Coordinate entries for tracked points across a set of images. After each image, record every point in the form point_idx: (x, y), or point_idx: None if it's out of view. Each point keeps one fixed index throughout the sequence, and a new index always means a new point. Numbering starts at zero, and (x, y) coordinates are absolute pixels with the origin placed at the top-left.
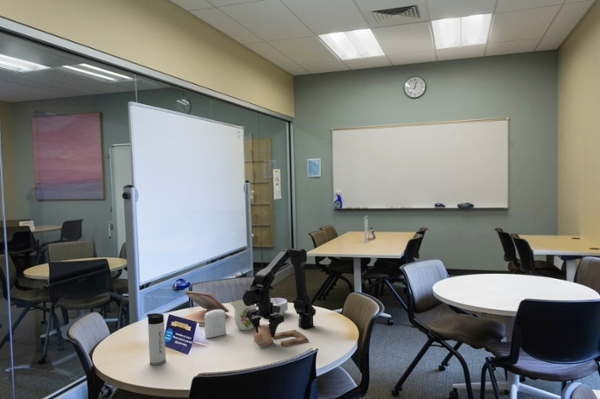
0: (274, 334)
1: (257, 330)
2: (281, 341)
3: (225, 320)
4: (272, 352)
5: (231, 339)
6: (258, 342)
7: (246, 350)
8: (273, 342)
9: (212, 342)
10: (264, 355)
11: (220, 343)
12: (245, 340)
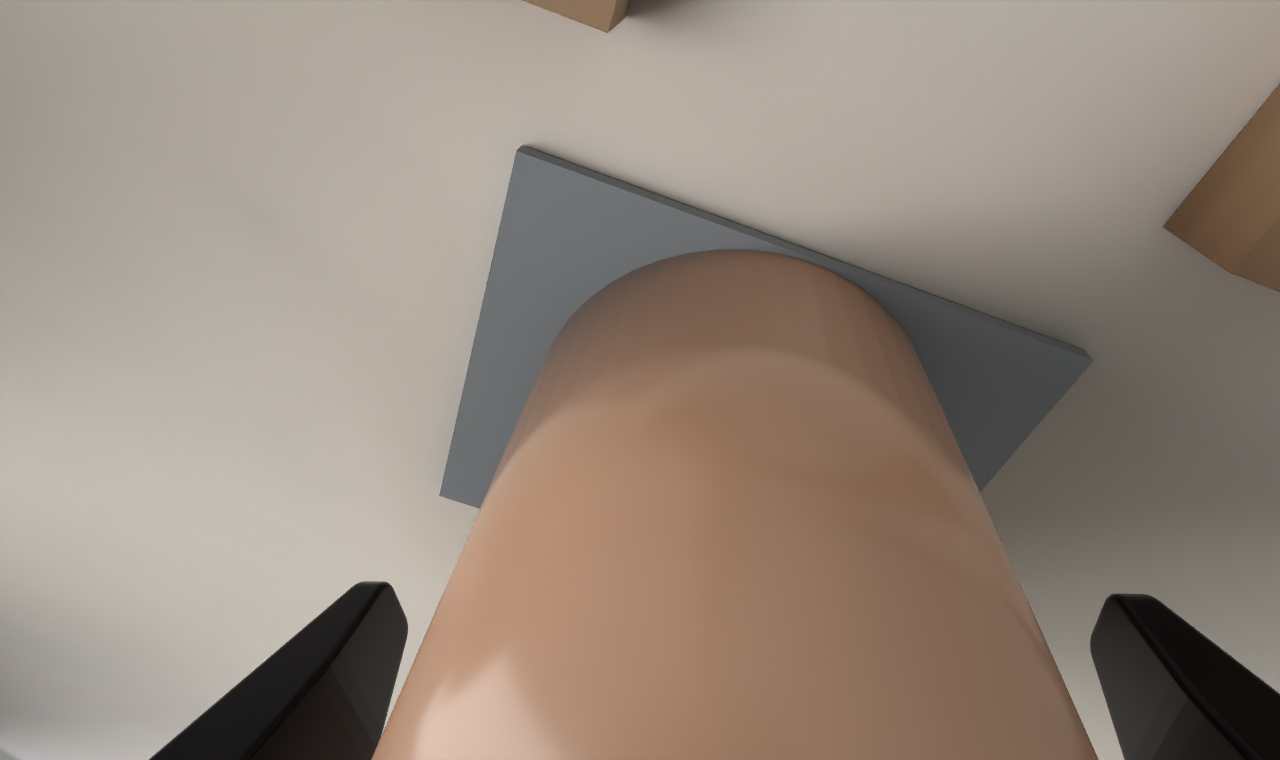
0: (1253, 697)
1: (364, 737)
2: (1275, 264)
3: None
4: (1203, 627)
5: (39, 599)
6: None
7: None
8: (861, 282)
9: (62, 753)
10: (1117, 745)
11: (153, 736)
12: (216, 515)
